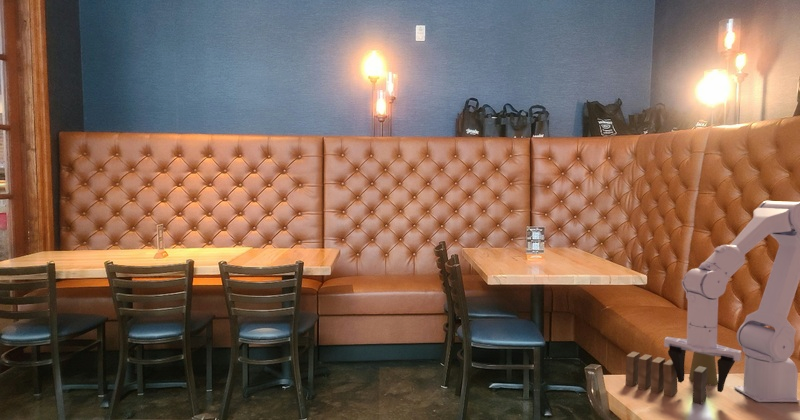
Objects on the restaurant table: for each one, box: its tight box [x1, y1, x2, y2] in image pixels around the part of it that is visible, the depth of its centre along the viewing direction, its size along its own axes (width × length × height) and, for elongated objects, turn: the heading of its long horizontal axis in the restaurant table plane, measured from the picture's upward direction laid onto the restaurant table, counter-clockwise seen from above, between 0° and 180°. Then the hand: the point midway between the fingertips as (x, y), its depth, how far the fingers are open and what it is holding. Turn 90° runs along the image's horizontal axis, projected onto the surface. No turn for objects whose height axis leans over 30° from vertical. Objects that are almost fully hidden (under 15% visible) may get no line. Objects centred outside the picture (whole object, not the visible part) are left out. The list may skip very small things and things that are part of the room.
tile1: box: [692, 366, 708, 405], centre depth 113 cm, size 2×4×7 cm, turn 136°
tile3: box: [650, 356, 666, 394], centre depth 119 cm, size 2×4×7 cm, turn 136°
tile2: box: [663, 358, 678, 397], centre depth 117 cm, size 2×4×7 cm, turn 136°
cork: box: [688, 352, 718, 386], centre depth 125 cm, size 6×6×11 cm
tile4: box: [637, 353, 653, 391], centre depth 121 cm, size 2×4×7 cm, turn 136°
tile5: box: [625, 351, 641, 387], centre depth 123 cm, size 2×4×7 cm, turn 136°
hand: (700, 385), depth 113 cm, fingers open, 7 cm apart
